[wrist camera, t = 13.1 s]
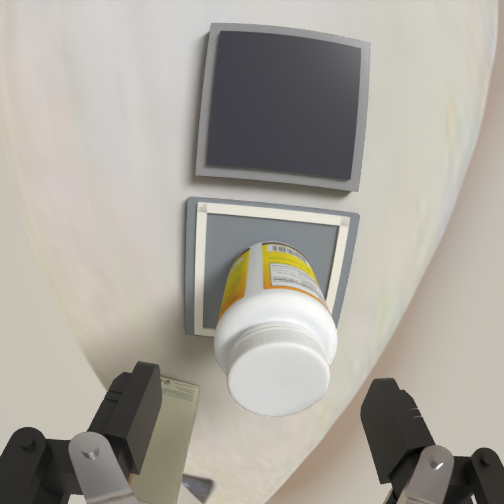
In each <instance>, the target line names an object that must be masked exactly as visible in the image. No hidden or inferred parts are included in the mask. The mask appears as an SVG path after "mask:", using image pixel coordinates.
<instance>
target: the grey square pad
mask: <svg viewBox="0 0 504 504" xmlns="http://www.w3.org/2000/svg"><path fill="white" fill-rule="evenodd" d="M359 218H360V215H359V214H358V213H351V212H343V211H335V210H327V209H318V208H310V207H301V206H292V205H282V204H272V203H262V202H251V201H240V200H228V199H215V198H202V197H188V200H187V224H186V264H185V324H186V334H189V335H197V336H205V337H214V336H215V330H216V326H217V322H218V318H219V313H220V309H221V304H222V300H223V295H224V291H225V287H226V283H227V278H228V274H229V270H230V268H231V265H232V263H233V262H234V260H235V259H236V258H237V256H238V255H239V254H240V253H241V252H243V251H244V250H245V249H247V248H248V247H250V246H252V245H254V244H257V243H261V242H267V241H277V242H282V243H285V244H288V245H290V246H292V247H294V248H296V249H297V250H298V251H300V252H301V253H302V254H303V255H304V256H305V258H306V259H307V261H308V262H309V264H310V266H311V268H312V271H313V273H314V275H315V277H316V280H317V282H318V284H319V287H320V289H321V292H322V294H323V296H324V299H325V301H326V303H327V306H328V308H329V311H330V313H331V315H332V318H333V321H334V323H335V327H336V329H337V325H338V321H339V317H340V313H341V308H342V304H343V300H344V295H345V291H346V286H347V282H348V277H349V272H350V267H351V262H352V257H353V252H354V247H355V242H356V236H357V230H358V224H359Z"/></svg>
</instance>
